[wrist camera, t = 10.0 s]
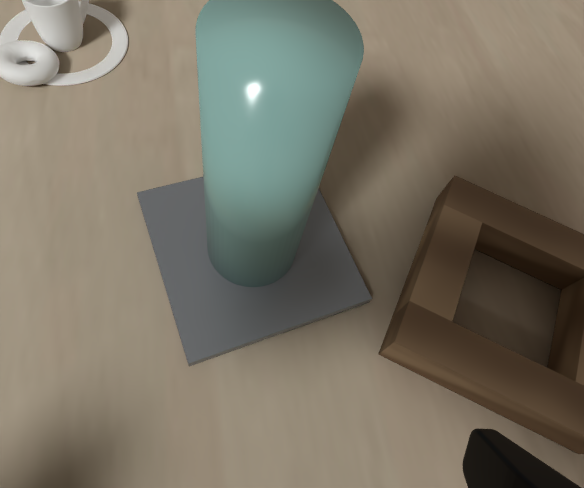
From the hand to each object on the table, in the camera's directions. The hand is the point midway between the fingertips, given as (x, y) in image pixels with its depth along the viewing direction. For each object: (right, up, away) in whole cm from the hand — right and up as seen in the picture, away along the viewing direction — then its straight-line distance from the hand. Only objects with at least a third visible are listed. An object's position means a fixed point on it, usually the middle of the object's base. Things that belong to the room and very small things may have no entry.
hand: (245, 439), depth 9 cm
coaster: (-1, +3, +17) cm, 17 cm away
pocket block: (+13, 0, +17) cm, 21 cm away
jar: (-1, +4, +16) cm, 17 cm away
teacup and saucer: (-17, +17, +22) cm, 33 cm away
